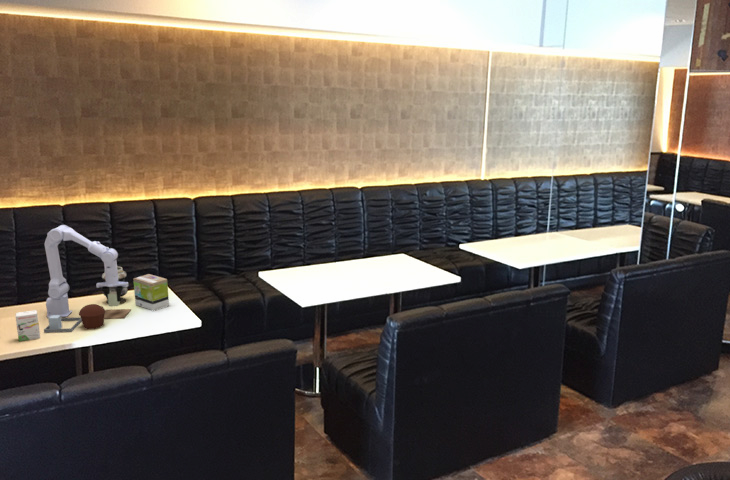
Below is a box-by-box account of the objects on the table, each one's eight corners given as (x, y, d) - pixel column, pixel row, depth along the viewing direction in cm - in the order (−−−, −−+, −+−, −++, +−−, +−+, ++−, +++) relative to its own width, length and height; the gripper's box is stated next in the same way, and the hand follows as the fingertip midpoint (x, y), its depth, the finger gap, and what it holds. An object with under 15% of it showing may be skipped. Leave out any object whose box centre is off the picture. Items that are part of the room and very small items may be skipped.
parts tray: (44, 332, 288) (43, 329, 288) (56, 321, 303) (56, 318, 303) (71, 331, 289) (71, 328, 289) (82, 320, 304) (82, 317, 304)
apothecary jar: (133, 299, 334) (131, 266, 330) (116, 306, 323) (113, 272, 319) (116, 296, 339) (113, 264, 335) (98, 303, 328) (95, 269, 324)
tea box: (134, 305, 325) (132, 277, 322) (151, 300, 333) (149, 273, 330) (153, 311, 317) (151, 282, 313) (169, 306, 325) (168, 278, 321)
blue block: (49, 330, 291) (48, 318, 290) (53, 327, 295) (51, 315, 293) (58, 330, 291) (57, 318, 290) (62, 327, 295) (60, 315, 294)
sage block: (108, 306, 309) (107, 294, 307) (111, 303, 312) (110, 291, 311) (117, 306, 309) (116, 294, 308) (119, 303, 313) (118, 291, 311)
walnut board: (98, 319, 306) (98, 318, 305) (106, 310, 317) (106, 309, 317) (124, 318, 307) (124, 317, 307) (131, 310, 318) (130, 308, 318)
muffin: (111, 322, 301) (110, 302, 299) (97, 331, 291) (95, 310, 289) (89, 320, 304) (87, 300, 301) (74, 328, 293) (72, 308, 291)
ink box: (18, 341, 278) (15, 316, 275) (18, 337, 282) (15, 312, 280) (40, 338, 282) (37, 313, 279) (39, 334, 286) (36, 309, 284)
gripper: (93, 276, 303) (95, 304, 306) (124, 276, 304) (127, 303, 307) (97, 272, 310) (100, 299, 313) (128, 272, 311) (130, 298, 314)
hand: (113, 301), depth 310 cm, fingers closed on sage block, 4 cm apart
